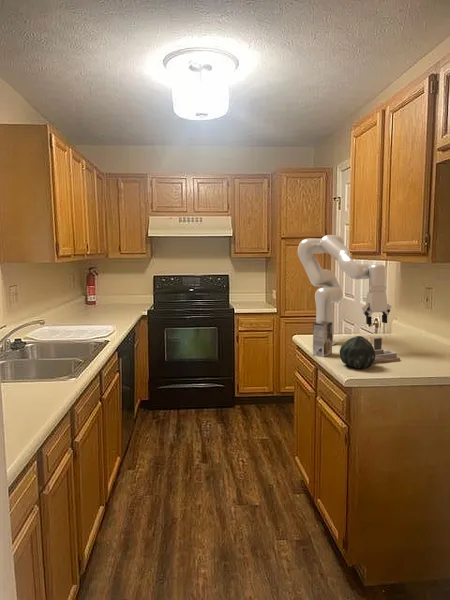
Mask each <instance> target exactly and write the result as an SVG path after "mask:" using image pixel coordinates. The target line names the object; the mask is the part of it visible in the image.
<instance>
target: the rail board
mask: <svg viewBox="0 0 450 600" xmlns="http://www.w3.org/2000/svg"><path fill="white" fill-rule="evenodd" d="M374 351H375V361H374V362H373V364H372V365H376V364H386V363H392V362H393V363H394V362H400V361H401V358H400V357H397V355H398V353H397V352H395V351H391V350H388V349H383V348H382V349H380V350H375V348H374Z"/></svg>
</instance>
